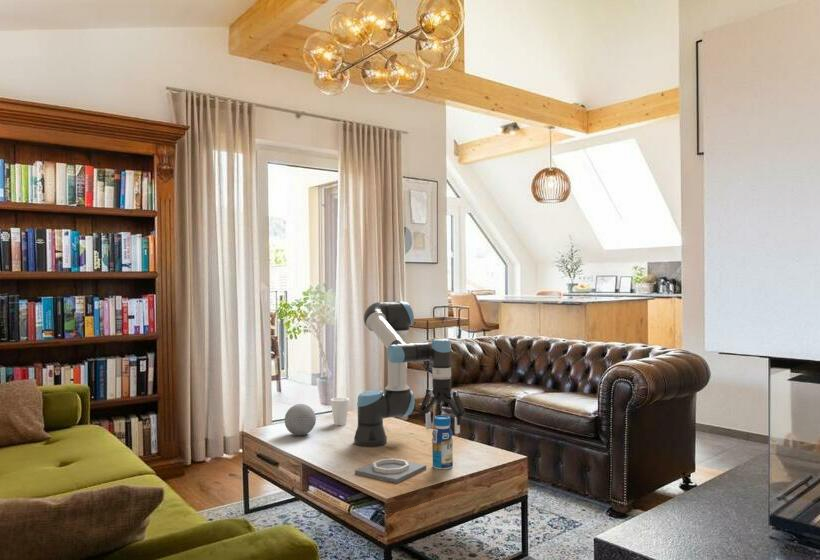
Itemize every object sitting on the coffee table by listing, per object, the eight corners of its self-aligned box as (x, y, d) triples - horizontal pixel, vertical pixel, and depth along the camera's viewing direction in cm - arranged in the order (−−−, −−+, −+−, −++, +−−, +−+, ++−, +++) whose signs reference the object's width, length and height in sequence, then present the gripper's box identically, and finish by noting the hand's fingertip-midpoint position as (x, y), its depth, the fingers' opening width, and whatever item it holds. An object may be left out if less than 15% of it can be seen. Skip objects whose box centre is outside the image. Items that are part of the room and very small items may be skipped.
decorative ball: (319, 431, 301) (319, 401, 301) (310, 439, 286) (310, 407, 286) (290, 430, 303) (290, 400, 303) (280, 438, 288) (279, 407, 288)
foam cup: (328, 426, 312) (328, 400, 312) (334, 421, 321) (333, 397, 321) (346, 426, 311) (346, 401, 310) (351, 422, 320) (351, 397, 320)
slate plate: (354, 474, 235) (354, 466, 235) (385, 460, 252) (385, 453, 252) (396, 483, 224) (396, 475, 224) (426, 469, 240) (426, 461, 240)
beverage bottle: (433, 463, 248) (433, 414, 248) (454, 464, 247) (453, 414, 246) (430, 469, 240) (430, 419, 240) (452, 470, 238) (451, 419, 238)
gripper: (410, 376, 247) (411, 429, 247) (464, 381, 233) (465, 436, 233) (421, 374, 253) (421, 425, 253) (473, 378, 239) (474, 432, 239)
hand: (442, 431), depth 243 cm, fingers open, 13 cm apart
